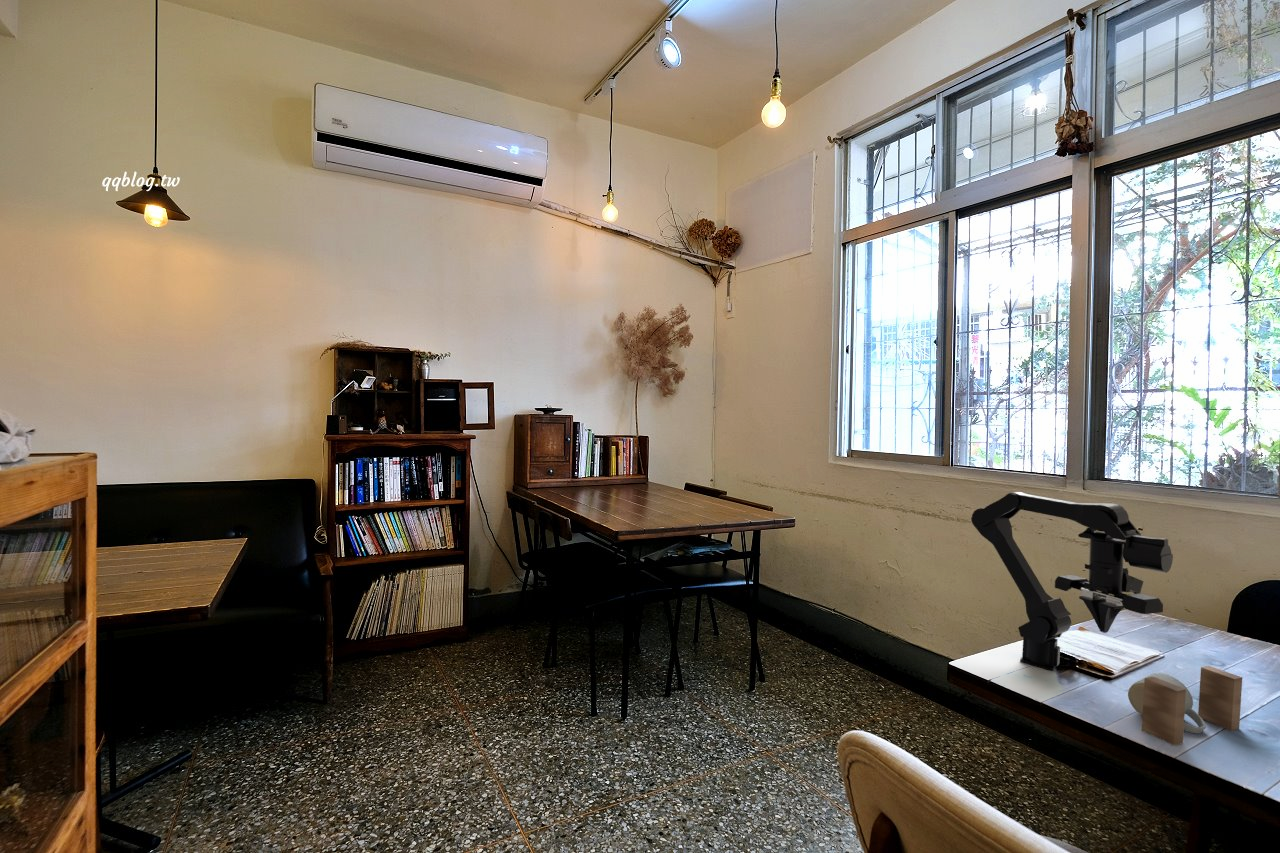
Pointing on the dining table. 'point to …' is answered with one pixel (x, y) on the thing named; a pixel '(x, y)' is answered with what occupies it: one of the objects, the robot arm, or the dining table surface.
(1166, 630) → the dining table surface
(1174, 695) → the walnut bookends
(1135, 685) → the ceramic mug
